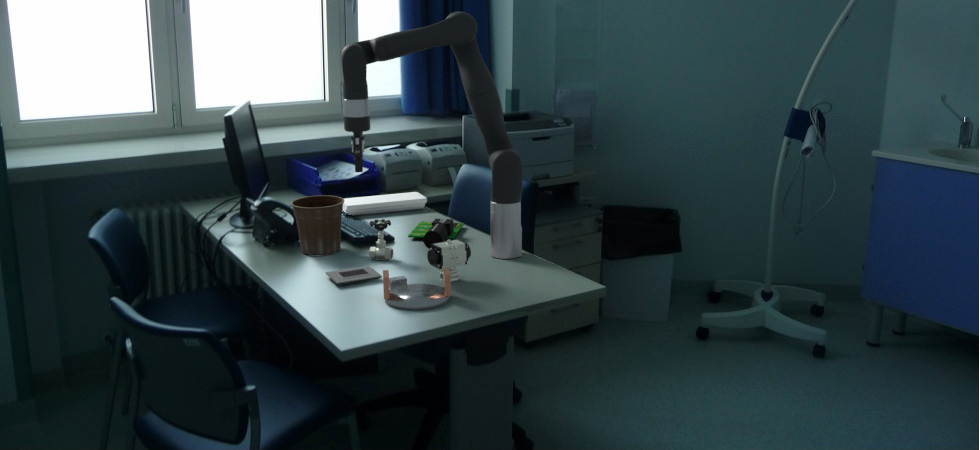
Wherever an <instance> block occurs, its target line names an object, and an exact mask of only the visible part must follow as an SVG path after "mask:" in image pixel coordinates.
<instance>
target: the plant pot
mask: <svg viewBox="0 0 980 450" xmlns="http://www.w3.org/2000/svg"><path fill="white" fill-rule="evenodd" d="M344 199H345V198H343V197H341V196H337V195H326V194H324V195H321V194H320V195H309V196H302V197H299V198H296V199H293V200H292V201H291V202H290V206H291V207H292V209H293V216H294V217H295V221H296V226H297V231H298V232H297V233H298V237H299V244H300V250H301V253H302V254H303V255H310V256H314V257H317V256H318V257H325V256H328V255H330V256H331V255H334V253H338V252H340V250H341V239H342V238H341V236H342V216H343V214H342V212H343V203H344Z"/></svg>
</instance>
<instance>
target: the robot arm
mask: <svg viewBox="0 0 980 450" xmlns="http://www.w3.org/2000/svg"><path fill="white" fill-rule="evenodd" d="M477 34H478V23H477V21H476V20H475V18H474V17H473V16H472V15H471V14H470V13H468V12H465V11H453V12H450V14H448V15H447V17H446V18H445V19H442V20H441V21H439V22H436V23H433V24H430V25H426V26H423V27H418V28H412V29H405V30H401V31H395V32H393V33H388V34H384V35H381V36H378V37H375V38H372V39H366V40H361V41H356V42H352V43H349V44H346V45H345V46H344V47H343V49H342V50H341V56H340V57H341V70H342V78H343V83H342V92H343V93H342V94H343V105H342V108H343V126H344V127H343V129H344V131H345V132H349V133H353V134H352V136H350V143H351V152H352V153H353V156H352V157H353V160H354V171H355V173H363V172H364V168H363V167H364V152H365V144H366V142H365V141H366V139H365V138H366V137H365V136H364V135H363V134H364V132H369V131H370V130H371V114H370V113H371V111H370V109H371V108H370V101H369V90H368V89H369V87H368V81H367V80H368V79H367V71H368V70H367V69H368V68H367V66H368V65H370V64H374V63H376V62H377V63H378V62H387V61H391V60H394V59H398V58H402V57H405V56H408V55H412V54H414V53H418V52H422V51H425V50H426V51H427V50H430V49H433V48H439V47H444V46H449V47H450V48H451V50H452V52H453V55H454V56H455V59H456V63H457V65H458V70H459V75H460V78H461V83H462V87H463V89H464V90H463V91H464V93H465V95H466V96H465V97H466V100H467V103H468V105H469V108H470V111H471V113H472V116H473V119H474V121H475V122H476V126H477V127H478V129H479V131H480V133H481V136H482V138H483V141H484V142H483V143H484V147H485V151H486V154H487V158H488V164H489V167H490V169H491V191H490V249H489V250H490V256H491V257H493V258H496V259H500V260H501V259H502V260H503V259H504V260H506V259H507V260H508V259H515V258H516V259H517V258H521V257H523V256H522V255H523V251H522V250H523V248H522V247H523V245H522V244H523V241H522V240H523V235H522V234H523V227H522V223H521V222H522V221H521V220H522V219H521V217H522V216H521V215H522V213H521V212H522V205H521V204H522V203H521V201H522V192H523V178H524V175H523V174H524V171H523V170H524V167H523V166H524V165H523V159H522V158H521V156H520V155H519V153H517V151H516V150H515V148H514V147H513V145H512V142H511V140H510V137H509V134H508V132H507V130H506V124H505V119H504V112H503V110H504V109H503V106H502V101H501V97H500V95H499V91H498V88H497V86H496V83H495V81H494V78H493V76H492V74H491V72H490V70H489V68H488V67H487V63H485V61H484V59H483V57H482V54H481V52H480V49H479V44H478V41H477Z"/></svg>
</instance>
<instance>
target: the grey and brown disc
mask: <svg viewBox="0 0 980 450" xmlns="http://www.w3.org/2000/svg"><path fill="white" fill-rule="evenodd" d="M389 271H390V270H389V269H385V270H384V269H383V270H382V282H383V284H382V285H383V300H384V302H385V304H386V305H387V306H389V307H391V308H393V309H397V310H400V311H401V310H402V311H411V312H412V311H427V310H432V309H437V308H440V307H442V306H445V305H446V304H447V303H448V302H449V301H450V297H451V296H452V291H451V290H452V285H451V284H452V282H451V274H450V270H449V268H443V281H442V282H443V284H442V285H443V286H440V285H437V284H431V283H430V284H429V283H409V284H408V283H407V285H401V286H397V287H394V288H392V289H390V288H389V278H390V275H389V274H390V272H389Z"/></svg>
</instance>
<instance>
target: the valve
mask: <svg viewBox="0 0 980 450" xmlns="http://www.w3.org/2000/svg"><path fill="white" fill-rule="evenodd" d="M369 225H370V228H371V227H373V228H374V229H375V230H376V231H377V232H378V233H377V238H378V239H377V241H375V245H376V246H370V248H369V250H368V251H369V254H368V255H369V258H370V259H372V260H373V259H374V260H379V261H384V260H388V261H393V258H394V249H393V248H392V247H386V246H387V241H386V240H385V239H384V238H385V234H384V232H383V231H384V230H386V229H387V228H388V226H389V227H390V226H392V222H391V219H385V218H381V219H380V220H379V219H378V218H377V219H374V220H370V221H369Z"/></svg>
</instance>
